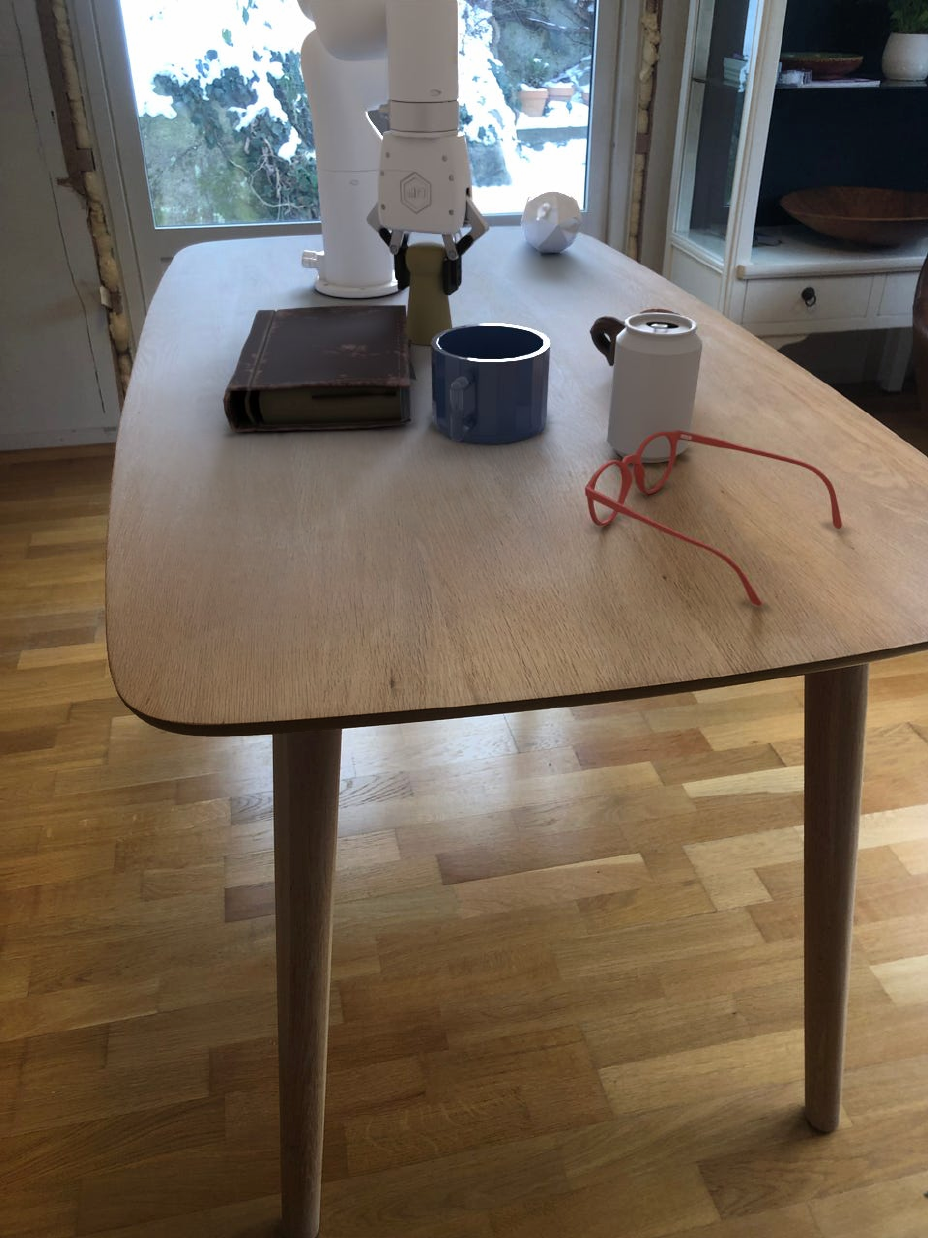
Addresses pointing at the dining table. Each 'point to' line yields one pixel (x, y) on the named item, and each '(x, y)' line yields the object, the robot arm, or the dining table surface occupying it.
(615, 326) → the pottery mug
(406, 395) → the diary
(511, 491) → the dining table surface
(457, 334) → the blue coffee cup
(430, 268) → the cork
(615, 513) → the red eyeglasses
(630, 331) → the can
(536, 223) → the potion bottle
